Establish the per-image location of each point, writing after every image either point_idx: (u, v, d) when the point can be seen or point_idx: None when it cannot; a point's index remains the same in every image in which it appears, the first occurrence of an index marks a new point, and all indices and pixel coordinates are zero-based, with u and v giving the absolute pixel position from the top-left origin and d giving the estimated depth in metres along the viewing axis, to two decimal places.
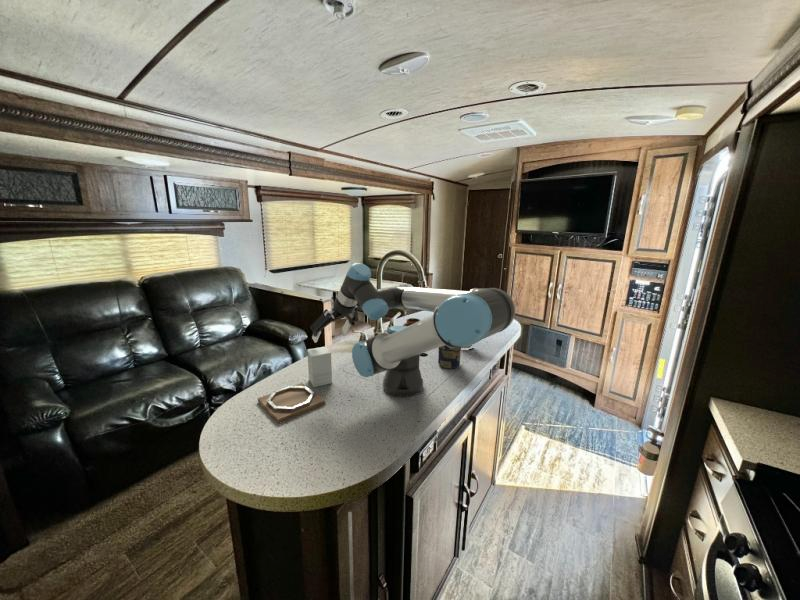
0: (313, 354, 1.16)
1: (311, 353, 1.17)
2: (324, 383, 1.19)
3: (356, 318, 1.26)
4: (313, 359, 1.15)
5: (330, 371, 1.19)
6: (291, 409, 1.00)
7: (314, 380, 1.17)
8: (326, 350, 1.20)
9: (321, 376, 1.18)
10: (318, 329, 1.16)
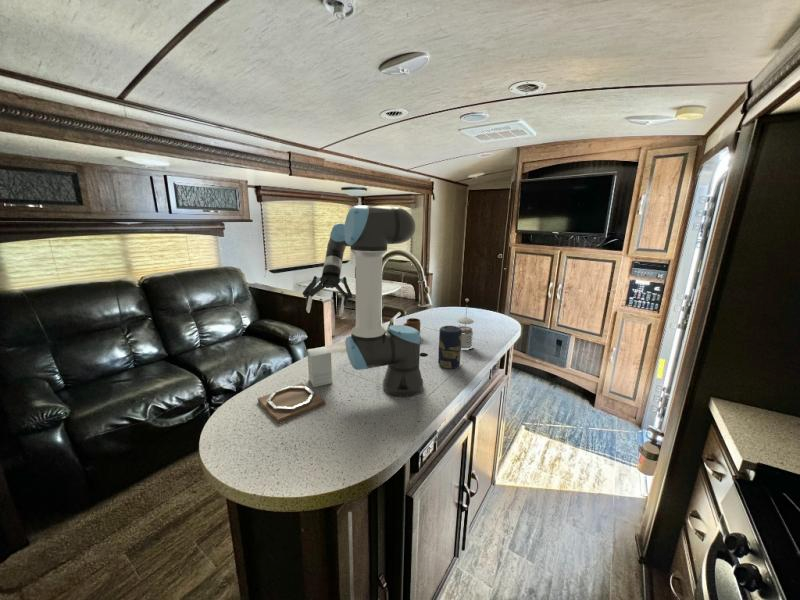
0: (313, 354, 1.16)
1: (311, 353, 1.17)
2: (324, 383, 1.19)
3: (348, 290, 1.31)
4: (313, 359, 1.15)
5: (330, 371, 1.19)
6: (291, 409, 1.00)
7: (314, 380, 1.17)
8: (326, 350, 1.20)
9: (321, 376, 1.18)
10: (308, 293, 1.30)
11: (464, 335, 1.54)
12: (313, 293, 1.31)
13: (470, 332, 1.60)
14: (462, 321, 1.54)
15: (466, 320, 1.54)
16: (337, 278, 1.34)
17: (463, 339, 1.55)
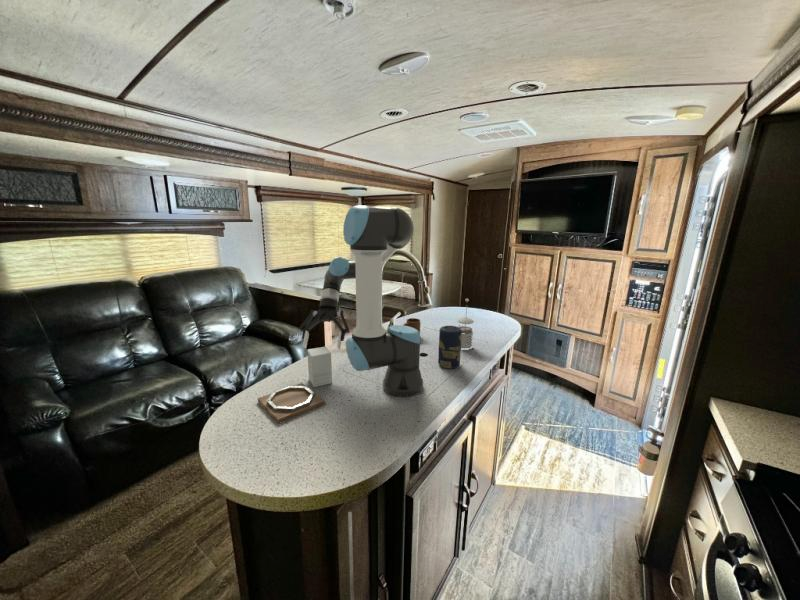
0: (313, 354, 1.16)
1: (311, 353, 1.17)
2: (324, 383, 1.19)
3: (345, 324, 1.29)
4: (313, 359, 1.15)
5: (330, 371, 1.19)
6: (291, 409, 1.00)
7: (314, 380, 1.17)
8: (326, 350, 1.20)
9: (321, 376, 1.18)
10: (304, 327, 1.29)
11: (464, 335, 1.54)
12: (310, 327, 1.29)
13: (470, 332, 1.60)
14: (462, 321, 1.54)
15: (466, 320, 1.54)
16: (334, 312, 1.32)
17: (463, 339, 1.55)
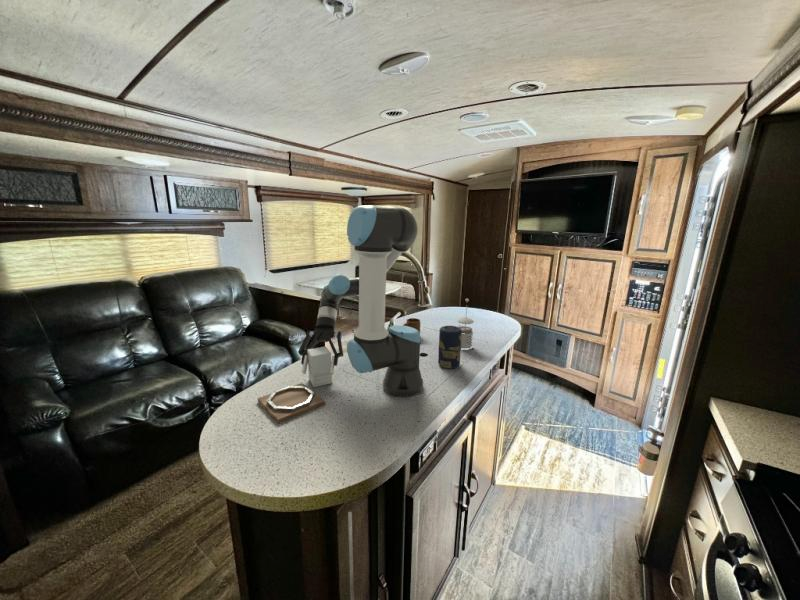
0: (313, 354, 1.16)
1: (311, 353, 1.17)
2: (324, 383, 1.19)
3: (339, 347, 1.22)
4: (313, 359, 1.15)
5: None
6: (291, 409, 1.00)
7: (314, 380, 1.17)
8: (326, 350, 1.20)
9: (321, 376, 1.18)
10: (303, 351, 1.21)
11: (464, 335, 1.54)
12: None
13: (470, 332, 1.60)
14: (462, 321, 1.54)
15: (466, 320, 1.54)
16: (332, 331, 1.25)
17: (463, 339, 1.55)
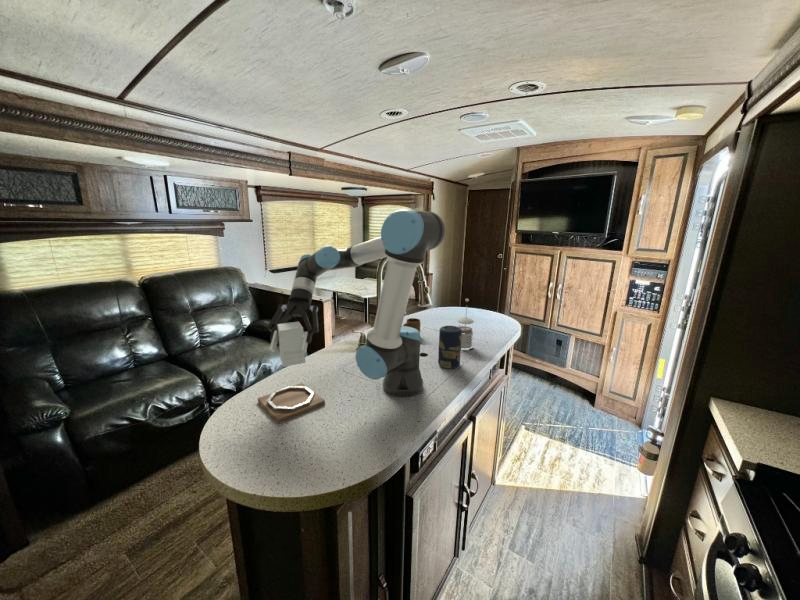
0: (282, 328, 1.01)
1: (280, 327, 1.02)
2: (296, 362, 1.04)
3: (314, 322, 1.07)
4: (282, 334, 1.00)
5: None
6: (291, 409, 1.00)
7: (283, 358, 1.02)
8: (298, 325, 1.04)
9: (292, 354, 1.03)
10: (273, 327, 1.06)
11: (464, 335, 1.54)
12: None
13: (470, 332, 1.60)
14: (462, 321, 1.54)
15: (466, 320, 1.54)
16: (307, 305, 1.10)
17: (463, 339, 1.55)
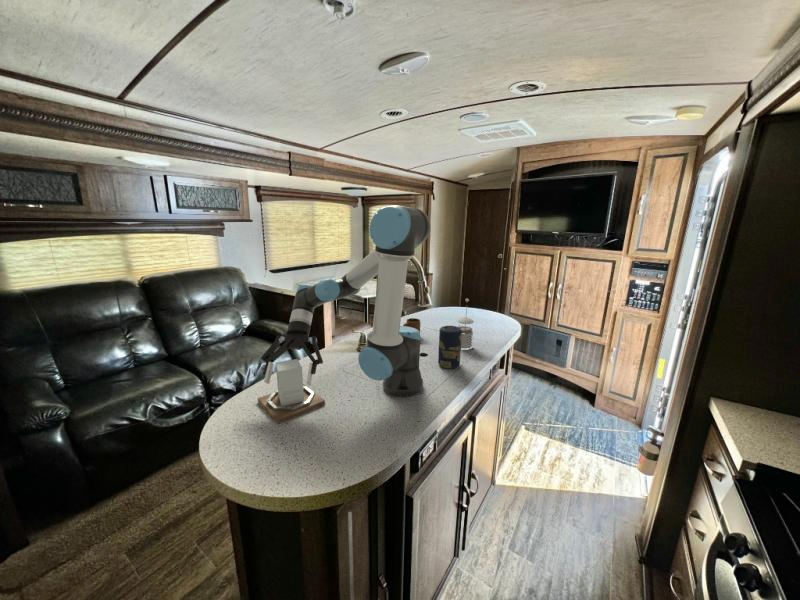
0: (281, 368, 1.01)
1: (279, 367, 1.01)
2: (294, 401, 1.04)
3: (317, 353, 1.07)
4: (280, 374, 1.00)
5: (301, 388, 1.04)
6: (291, 409, 1.00)
7: (282, 398, 1.01)
8: (297, 363, 1.04)
9: (291, 394, 1.02)
10: (268, 358, 1.06)
11: (464, 335, 1.54)
12: (275, 357, 1.07)
13: (470, 332, 1.60)
14: (462, 321, 1.54)
15: (466, 320, 1.54)
16: (305, 337, 1.10)
17: (463, 339, 1.55)
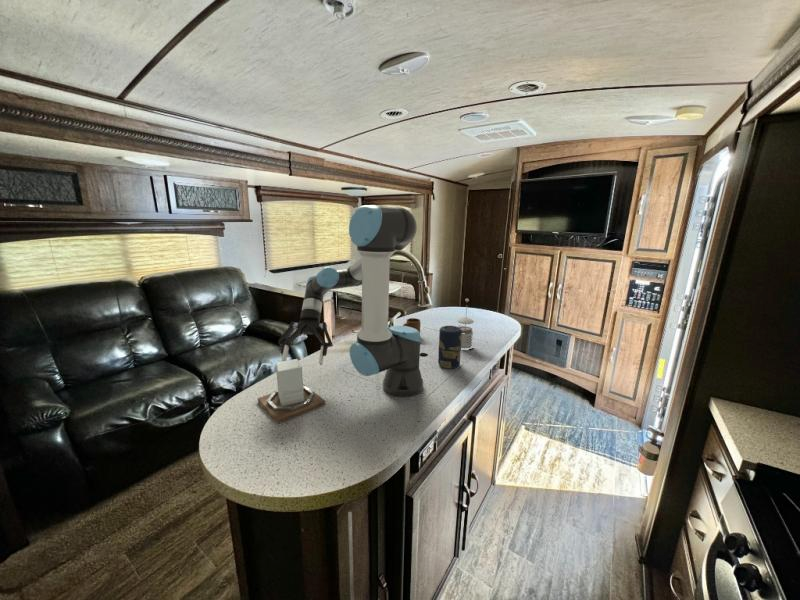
0: (281, 368, 1.01)
1: (279, 367, 1.01)
2: (294, 401, 1.04)
3: (327, 337, 1.20)
4: (280, 374, 1.00)
5: (301, 388, 1.04)
6: (291, 409, 1.00)
7: (282, 398, 1.01)
8: (297, 363, 1.04)
9: (291, 394, 1.02)
10: (284, 341, 1.19)
11: (464, 335, 1.54)
12: (290, 341, 1.20)
13: (470, 332, 1.60)
14: (462, 321, 1.54)
15: (466, 320, 1.54)
16: (316, 323, 1.23)
17: (463, 339, 1.55)
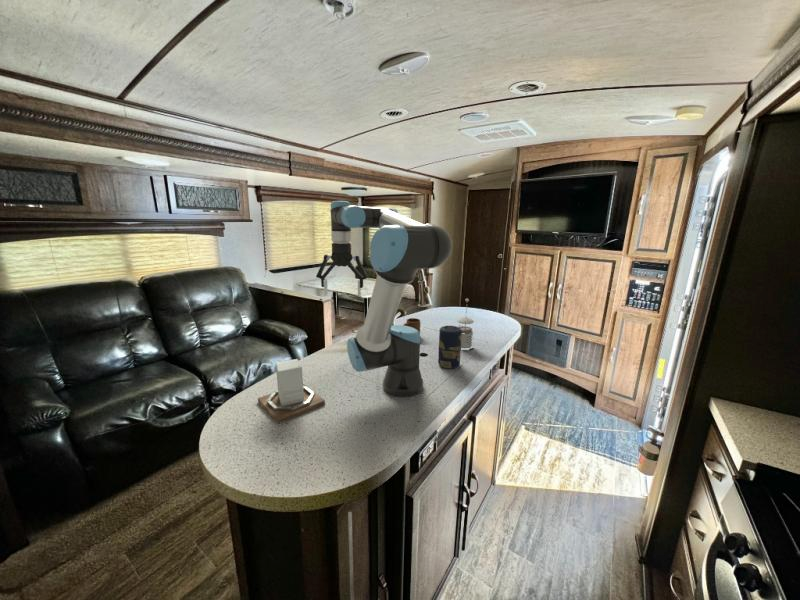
0: (281, 368, 1.01)
1: (279, 367, 1.01)
2: (294, 401, 1.04)
3: (362, 272, 1.26)
4: (280, 374, 1.00)
5: (301, 388, 1.04)
6: (291, 409, 1.00)
7: (282, 398, 1.01)
8: (297, 363, 1.04)
9: (291, 394, 1.02)
10: (322, 275, 1.26)
11: (464, 335, 1.54)
12: (327, 274, 1.27)
13: (470, 332, 1.60)
14: (462, 321, 1.54)
15: (466, 320, 1.54)
16: (349, 257, 1.24)
17: (463, 339, 1.55)
